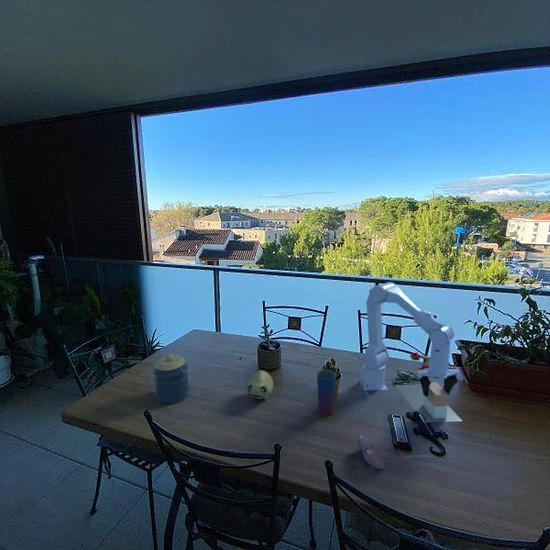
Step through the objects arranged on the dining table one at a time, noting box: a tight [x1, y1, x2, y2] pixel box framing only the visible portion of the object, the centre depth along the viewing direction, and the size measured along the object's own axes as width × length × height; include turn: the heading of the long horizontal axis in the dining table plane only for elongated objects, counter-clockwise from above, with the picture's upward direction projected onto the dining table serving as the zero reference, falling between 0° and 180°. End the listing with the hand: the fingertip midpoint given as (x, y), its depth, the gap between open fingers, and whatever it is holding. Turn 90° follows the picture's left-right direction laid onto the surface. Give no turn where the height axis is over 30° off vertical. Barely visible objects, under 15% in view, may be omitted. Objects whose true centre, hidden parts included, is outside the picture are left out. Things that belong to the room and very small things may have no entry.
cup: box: [316, 369, 337, 417], centre depth 117 cm, size 7×7×15 cm
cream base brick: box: [422, 394, 447, 418], centre depth 117 cm, size 4×8×4 cm, turn 3°
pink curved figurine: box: [355, 434, 385, 470], centre depth 96 cm, size 10×5×7 cm, turn 5°
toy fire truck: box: [410, 351, 430, 371], centre depth 144 cm, size 3×14×10 cm, turn 84°
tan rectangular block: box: [427, 381, 449, 407], centre depth 116 cm, size 4×8×4 cm, turn 2°
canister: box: [152, 353, 190, 405], centre depth 128 cm, size 13×13×18 cm
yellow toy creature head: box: [247, 369, 274, 401], centre depth 127 cm, size 10×12×11 cm
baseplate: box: [394, 383, 463, 424], centre depth 124 cm, size 14×24×1 cm, turn 3°
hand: (435, 394), depth 116 cm, fingers open, 7 cm apart
